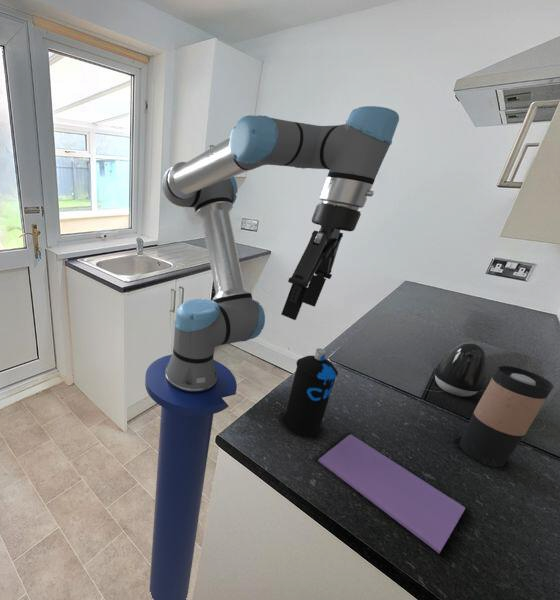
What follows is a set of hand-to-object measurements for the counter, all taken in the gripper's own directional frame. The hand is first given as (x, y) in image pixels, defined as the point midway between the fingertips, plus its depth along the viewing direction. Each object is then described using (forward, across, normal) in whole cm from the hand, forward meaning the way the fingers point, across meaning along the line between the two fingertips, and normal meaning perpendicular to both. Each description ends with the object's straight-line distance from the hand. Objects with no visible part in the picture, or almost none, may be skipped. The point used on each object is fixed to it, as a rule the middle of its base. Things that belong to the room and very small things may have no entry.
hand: (299, 310), depth 65 cm
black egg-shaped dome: (+21, +49, -36) cm, 65 cm away
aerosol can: (+27, +4, -9) cm, 29 cm away
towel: (+26, 0, -26) cm, 36 cm away
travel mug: (+22, +23, -41) cm, 52 cm away
